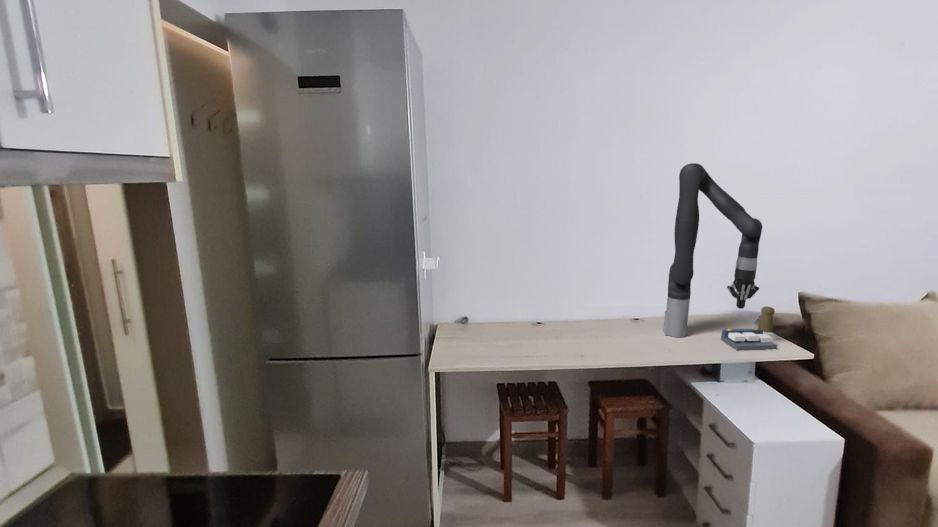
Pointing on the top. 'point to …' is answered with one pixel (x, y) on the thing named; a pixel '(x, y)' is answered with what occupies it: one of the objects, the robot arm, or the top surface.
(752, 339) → the middle key
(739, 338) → the inner key
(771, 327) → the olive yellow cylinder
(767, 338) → the outer key
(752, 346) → the keypad
